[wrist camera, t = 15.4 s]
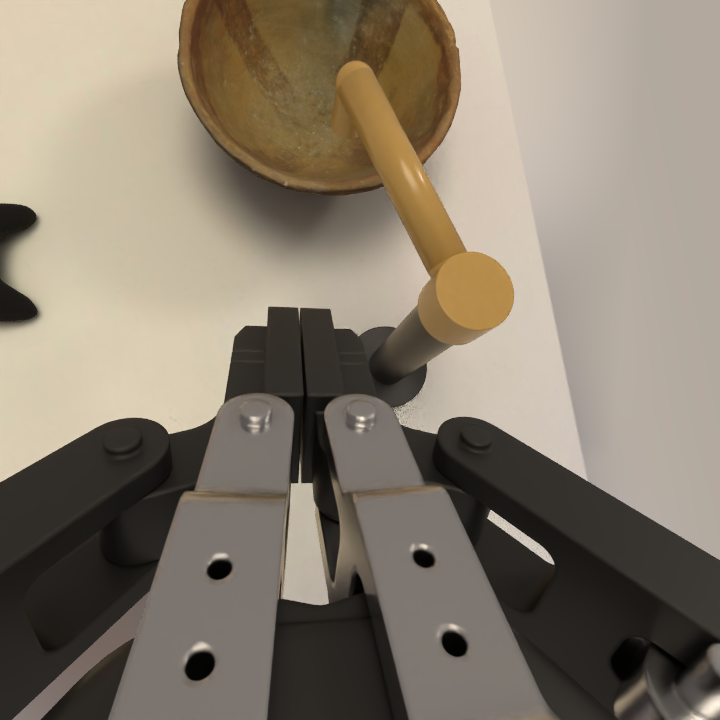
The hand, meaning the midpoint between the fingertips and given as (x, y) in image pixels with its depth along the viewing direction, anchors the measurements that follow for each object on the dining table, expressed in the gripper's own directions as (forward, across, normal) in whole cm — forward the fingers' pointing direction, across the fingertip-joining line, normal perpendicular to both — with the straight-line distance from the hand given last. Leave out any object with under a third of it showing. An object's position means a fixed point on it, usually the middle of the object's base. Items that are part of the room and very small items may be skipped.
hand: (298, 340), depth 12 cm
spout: (+17, +6, -2) cm, 18 cm away
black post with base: (+24, +9, -17) cm, 30 cm away
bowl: (+40, +3, -1) cm, 40 cm away
